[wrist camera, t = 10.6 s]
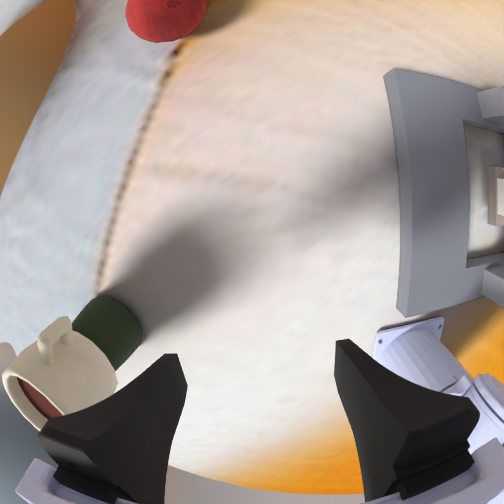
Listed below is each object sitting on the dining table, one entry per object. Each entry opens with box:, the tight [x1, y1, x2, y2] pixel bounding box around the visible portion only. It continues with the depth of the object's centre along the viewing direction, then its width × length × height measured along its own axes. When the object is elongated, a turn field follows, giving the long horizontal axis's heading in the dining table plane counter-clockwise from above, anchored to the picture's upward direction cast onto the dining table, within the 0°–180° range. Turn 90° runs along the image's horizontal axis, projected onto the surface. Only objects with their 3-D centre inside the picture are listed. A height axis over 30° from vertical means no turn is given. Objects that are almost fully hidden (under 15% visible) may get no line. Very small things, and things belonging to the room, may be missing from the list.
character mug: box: [2, 296, 142, 431], centre depth 17 cm, size 11×7×13 cm, turn 162°
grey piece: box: [383, 69, 504, 318], centre depth 16 cm, size 20×22×6 cm
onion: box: [125, 0, 207, 43], centre depth 12 cm, size 6×6×8 cm
